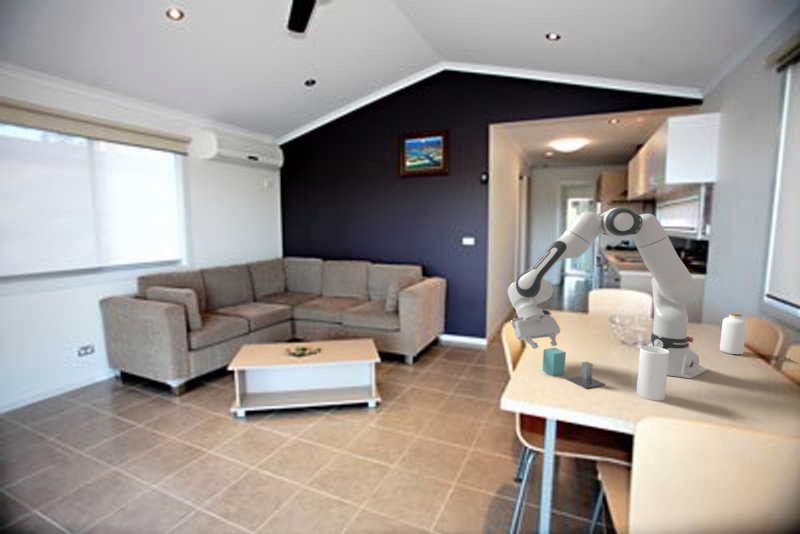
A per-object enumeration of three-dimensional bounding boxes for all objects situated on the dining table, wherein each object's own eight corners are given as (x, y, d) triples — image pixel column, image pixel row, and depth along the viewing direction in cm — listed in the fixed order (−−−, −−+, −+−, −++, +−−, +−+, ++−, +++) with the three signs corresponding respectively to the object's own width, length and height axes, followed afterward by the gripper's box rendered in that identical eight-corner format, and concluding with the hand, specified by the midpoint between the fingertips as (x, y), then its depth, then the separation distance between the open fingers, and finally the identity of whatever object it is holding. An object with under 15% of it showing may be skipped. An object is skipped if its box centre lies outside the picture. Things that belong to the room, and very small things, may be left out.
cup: (669, 401, 133) (673, 354, 131) (641, 399, 135) (645, 352, 133) (658, 391, 141) (662, 346, 139) (632, 389, 143) (636, 344, 141)
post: (585, 376, 154) (586, 357, 153) (605, 385, 146) (606, 365, 145) (567, 379, 151) (568, 360, 150) (586, 389, 142) (587, 369, 141)
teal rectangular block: (553, 368, 161) (555, 347, 160) (564, 373, 156) (565, 352, 155) (542, 370, 159) (543, 349, 158) (552, 375, 154) (554, 353, 153)
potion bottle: (723, 354, 181) (727, 314, 179) (716, 348, 189) (720, 310, 187) (746, 356, 178) (751, 316, 176) (738, 351, 186) (743, 312, 184)
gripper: (513, 314, 163) (528, 345, 155) (553, 310, 170) (569, 340, 163) (505, 322, 167) (520, 353, 160) (545, 318, 175) (560, 347, 167)
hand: (545, 346), depth 161 cm, fingers open, 8 cm apart
